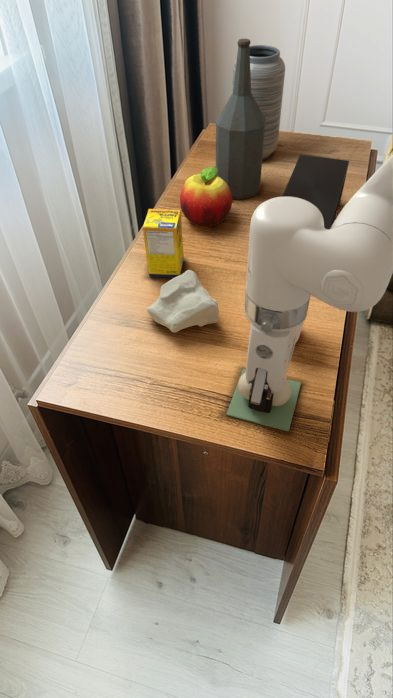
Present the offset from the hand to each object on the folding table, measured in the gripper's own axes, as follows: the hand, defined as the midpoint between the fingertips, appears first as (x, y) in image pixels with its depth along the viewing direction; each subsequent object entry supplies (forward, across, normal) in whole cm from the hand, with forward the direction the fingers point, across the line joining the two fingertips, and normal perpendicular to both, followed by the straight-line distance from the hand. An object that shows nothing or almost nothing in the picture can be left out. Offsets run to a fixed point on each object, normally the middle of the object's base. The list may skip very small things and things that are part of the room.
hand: (264, 394), depth 72 cm
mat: (+1, 0, 0) cm, 1 cm away
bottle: (+1, +56, +20) cm, 60 cm away
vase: (+1, +74, +21) cm, 77 cm away
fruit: (+1, +42, +23) cm, 48 cm away
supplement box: (+1, +24, +25) cm, 35 cm away
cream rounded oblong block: (+1, 0, 0) cm, 1 cm away
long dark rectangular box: (+1, +44, +2) cm, 44 cm away
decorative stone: (+1, +12, +17) cm, 21 cm away
